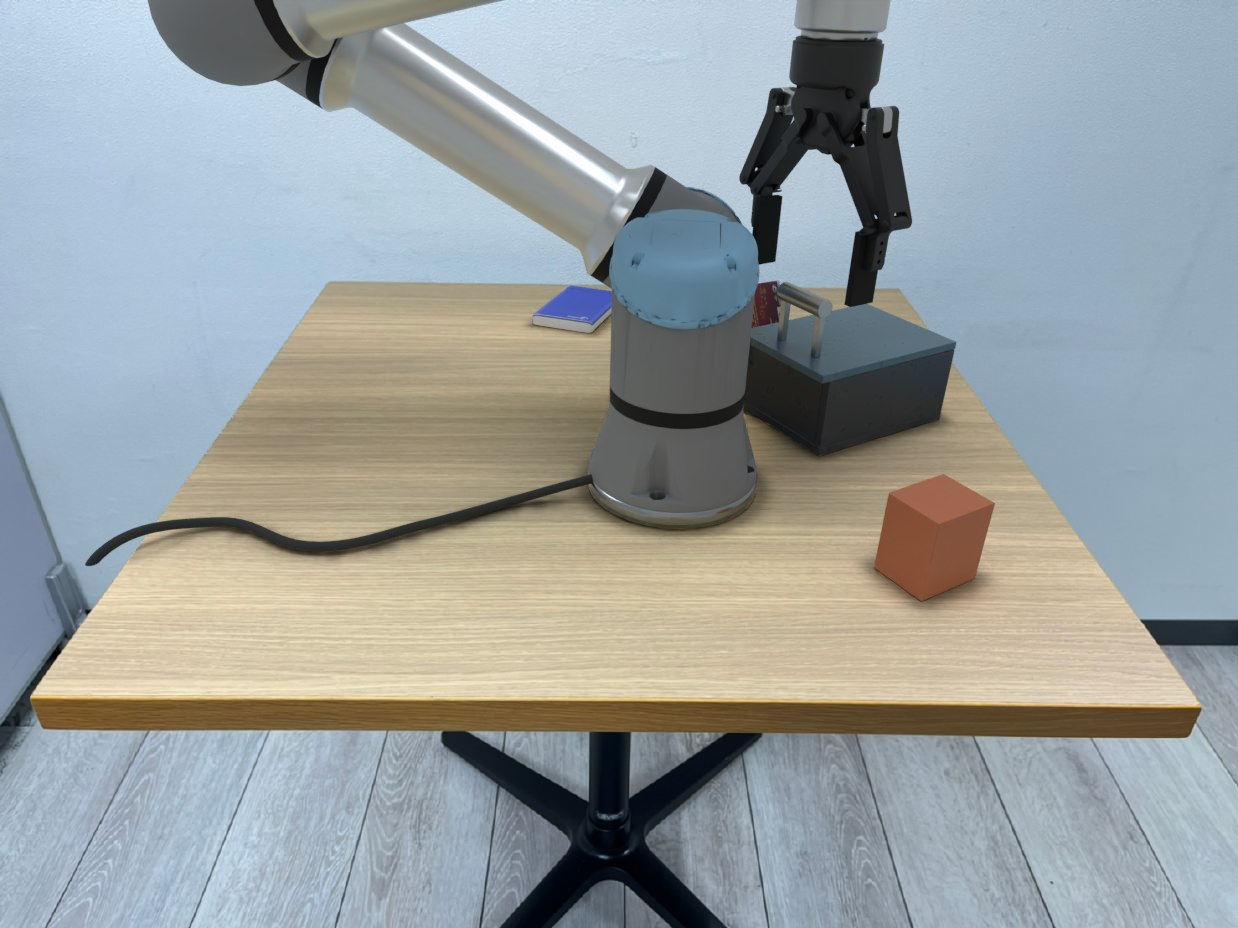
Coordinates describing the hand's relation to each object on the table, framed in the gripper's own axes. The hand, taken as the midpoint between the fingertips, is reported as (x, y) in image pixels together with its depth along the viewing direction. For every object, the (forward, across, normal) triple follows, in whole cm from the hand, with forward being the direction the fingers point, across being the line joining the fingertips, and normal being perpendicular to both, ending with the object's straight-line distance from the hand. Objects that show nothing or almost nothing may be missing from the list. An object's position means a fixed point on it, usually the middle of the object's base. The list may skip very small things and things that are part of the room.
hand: (807, 282), depth 86 cm
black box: (+15, 0, -7) cm, 17 cm away
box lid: (+7, 0, -6) cm, 10 cm away
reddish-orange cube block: (+15, -25, +7) cm, 30 cm away
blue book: (+16, +39, +3) cm, 42 cm away
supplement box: (+11, +16, -10) cm, 22 cm away
